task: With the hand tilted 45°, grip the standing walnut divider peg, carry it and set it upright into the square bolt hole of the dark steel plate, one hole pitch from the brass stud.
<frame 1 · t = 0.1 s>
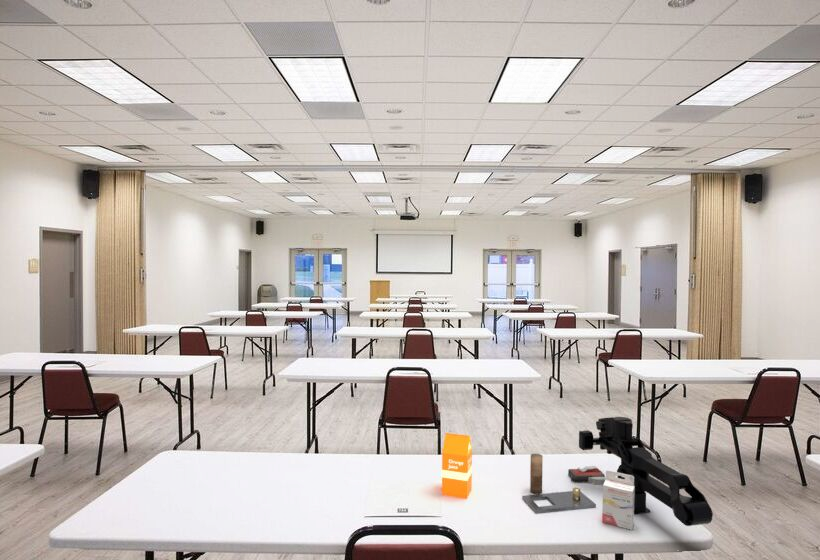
hand: (590, 431, 180), 17 cm above the table, tool horizontal, fingers open, 9 cm apart
red gray flat block: (595, 481, 177), on the table
ink cartridge box: (617, 523, 147), on the table
divider peg: (536, 491, 167), on the table
orange juice: (456, 492, 167), on the table
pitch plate: (559, 502, 159), on the table
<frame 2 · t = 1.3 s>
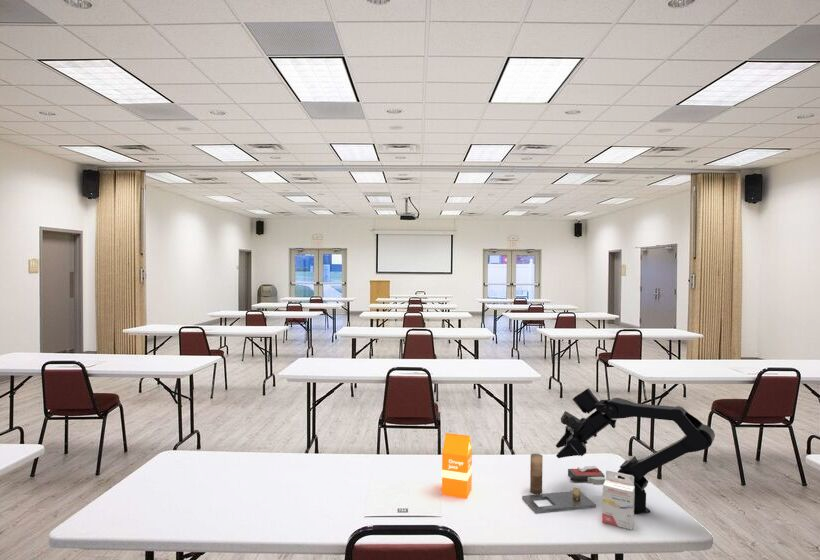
hand: (556, 451, 167), 14 cm above the table, tool tilted 50°, fingers open, 9 cm apart
nothing on the table moved.
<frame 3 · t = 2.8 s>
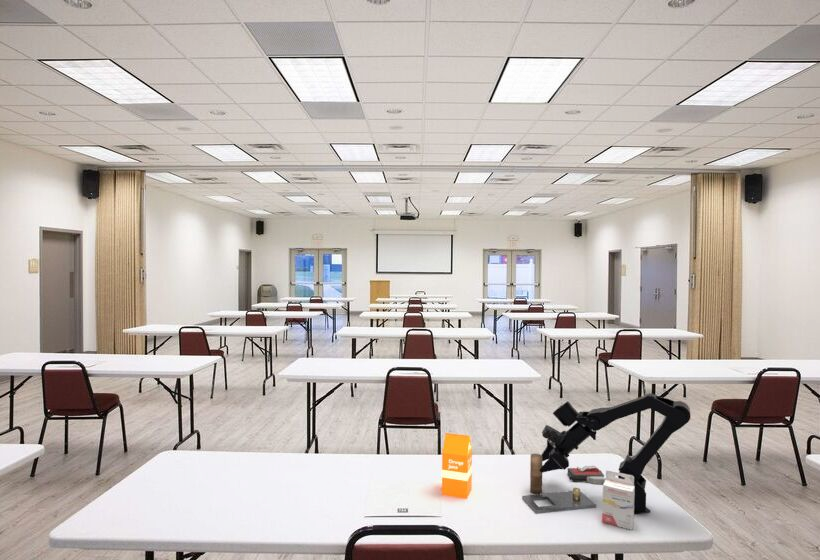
hand: (539, 466, 167), 9 cm above the table, tool tilted 45°, fingers open, 9 cm apart
nothing on the table moved.
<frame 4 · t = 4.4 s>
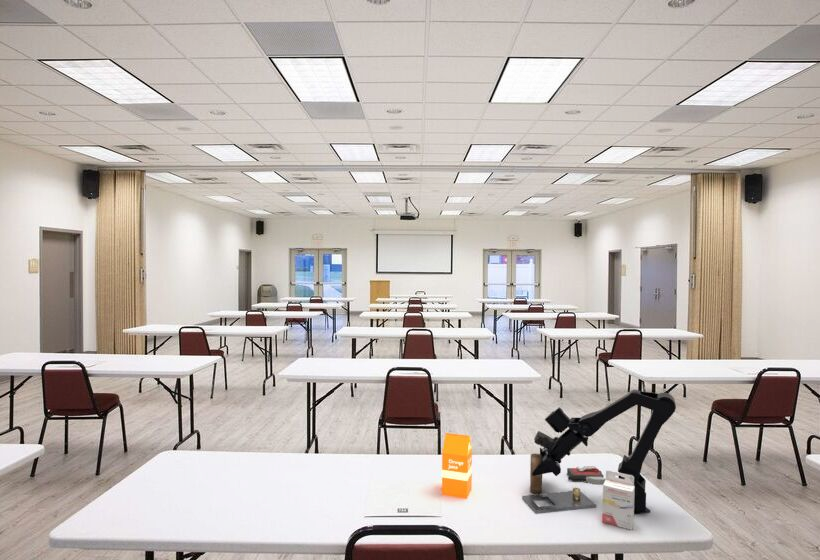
hand: (532, 472, 167), 7 cm above the table, tool tilted 45°, fingers closed on divider peg, 4 cm apart
divider peg: (536, 491, 167), on the table, touching gripper
everything else where it was.
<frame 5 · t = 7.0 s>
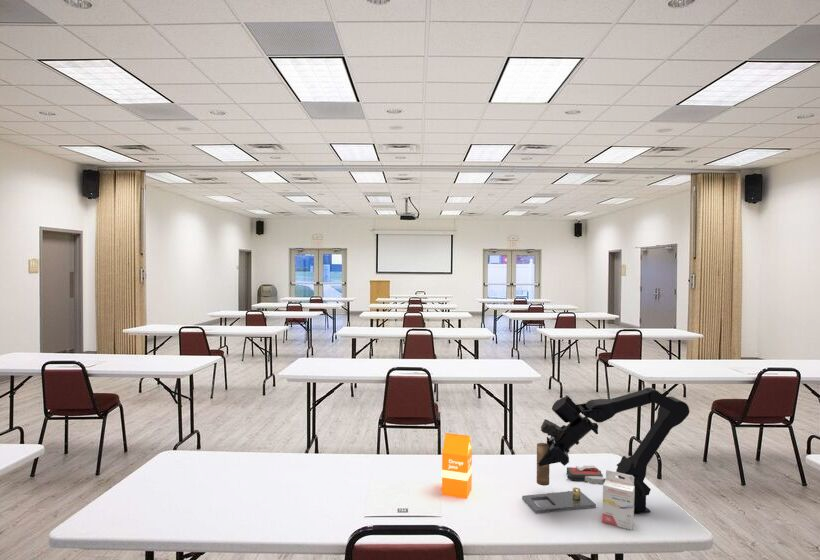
hand: (538, 462, 159), 13 cm above the table, tool tilted 45°, fingers closed on divider peg, 4 cm apart
divider peg: (542, 482, 158), point 7 cm above the table, touching gripper
everything else where it was.
when the fingers open (8 cm above the table, at t = 9.3 s): divider peg drops 1 cm, resting in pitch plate.
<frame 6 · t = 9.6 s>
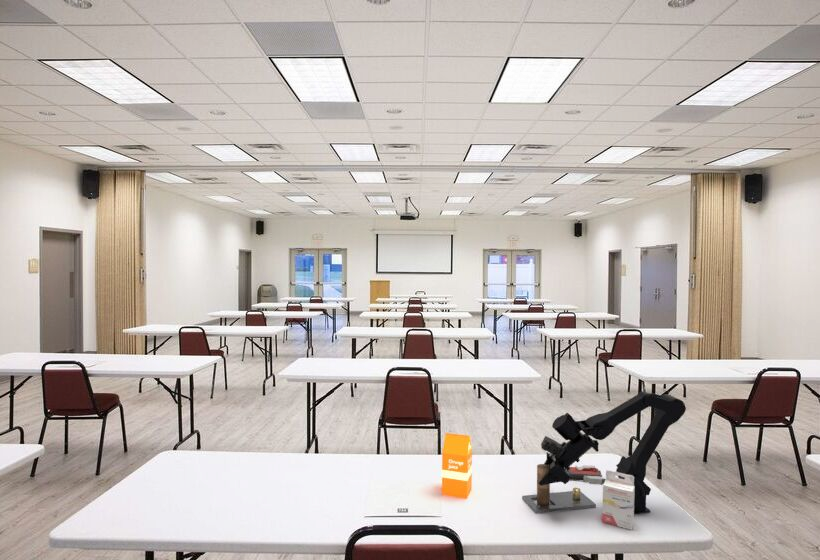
hand: (538, 479, 158), 8 cm above the table, tool tilted 45°, fingers open, 7 cm apart
divider peg: (543, 504, 158), resting in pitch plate
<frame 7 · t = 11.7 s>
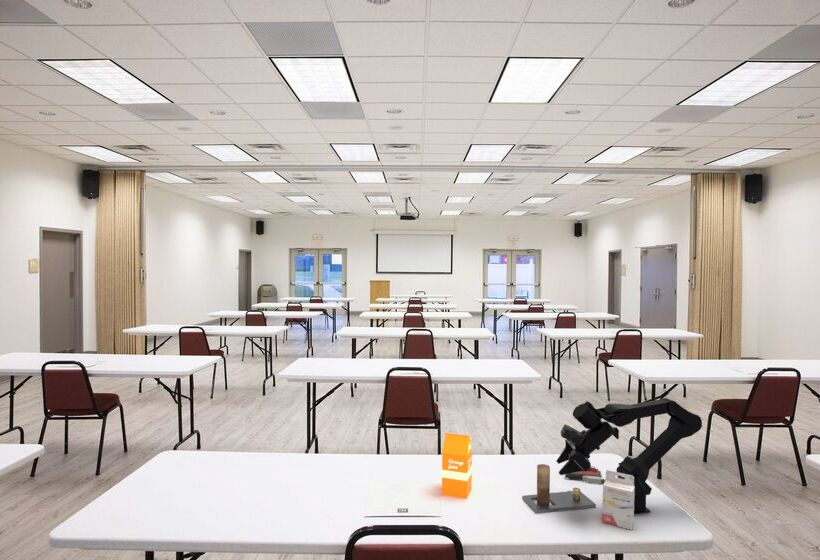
hand: (558, 468, 157), 12 cm above the table, tool tilted 45°, fingers open, 9 cm apart
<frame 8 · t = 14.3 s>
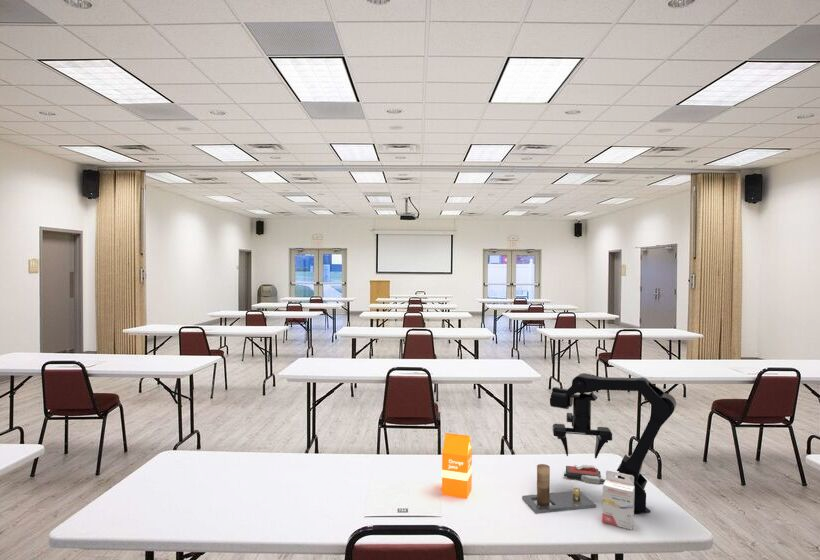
hand: (581, 456, 165), 13 cm above the table, tool pointing down, fingers open, 9 cm apart
at the end: divider peg 0.1 cm from the target spot on the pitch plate, point 0.0 cm above the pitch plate's base; divider peg tilted 1°; the gripper is holding nothing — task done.
